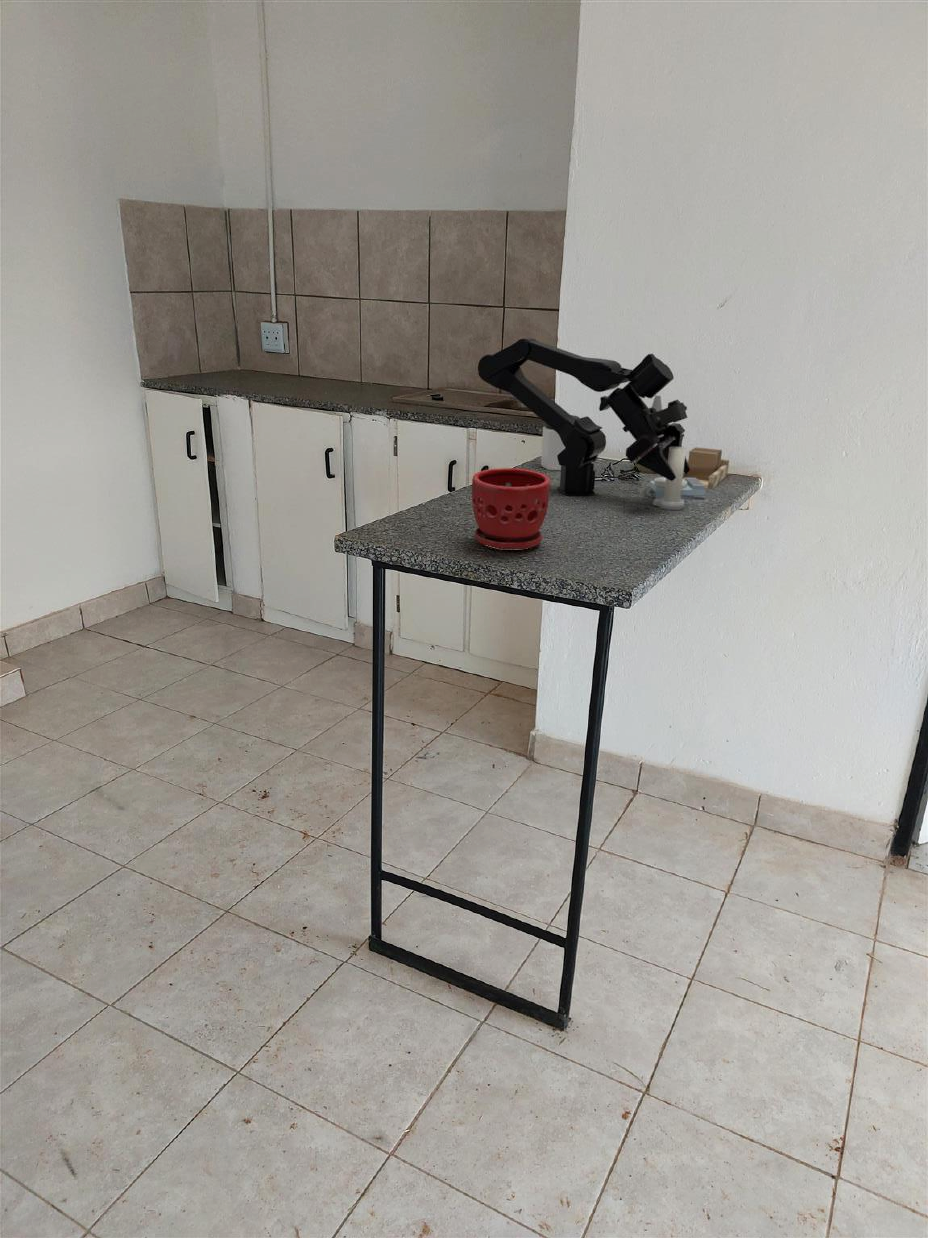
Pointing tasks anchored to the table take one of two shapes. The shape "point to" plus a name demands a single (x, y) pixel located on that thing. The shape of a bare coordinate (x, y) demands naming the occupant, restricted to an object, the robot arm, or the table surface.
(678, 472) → the crank handle
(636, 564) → the table surface
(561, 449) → the jar
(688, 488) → the grey socket base
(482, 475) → the plant pot
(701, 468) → the box
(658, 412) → the robot arm
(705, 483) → the bay
